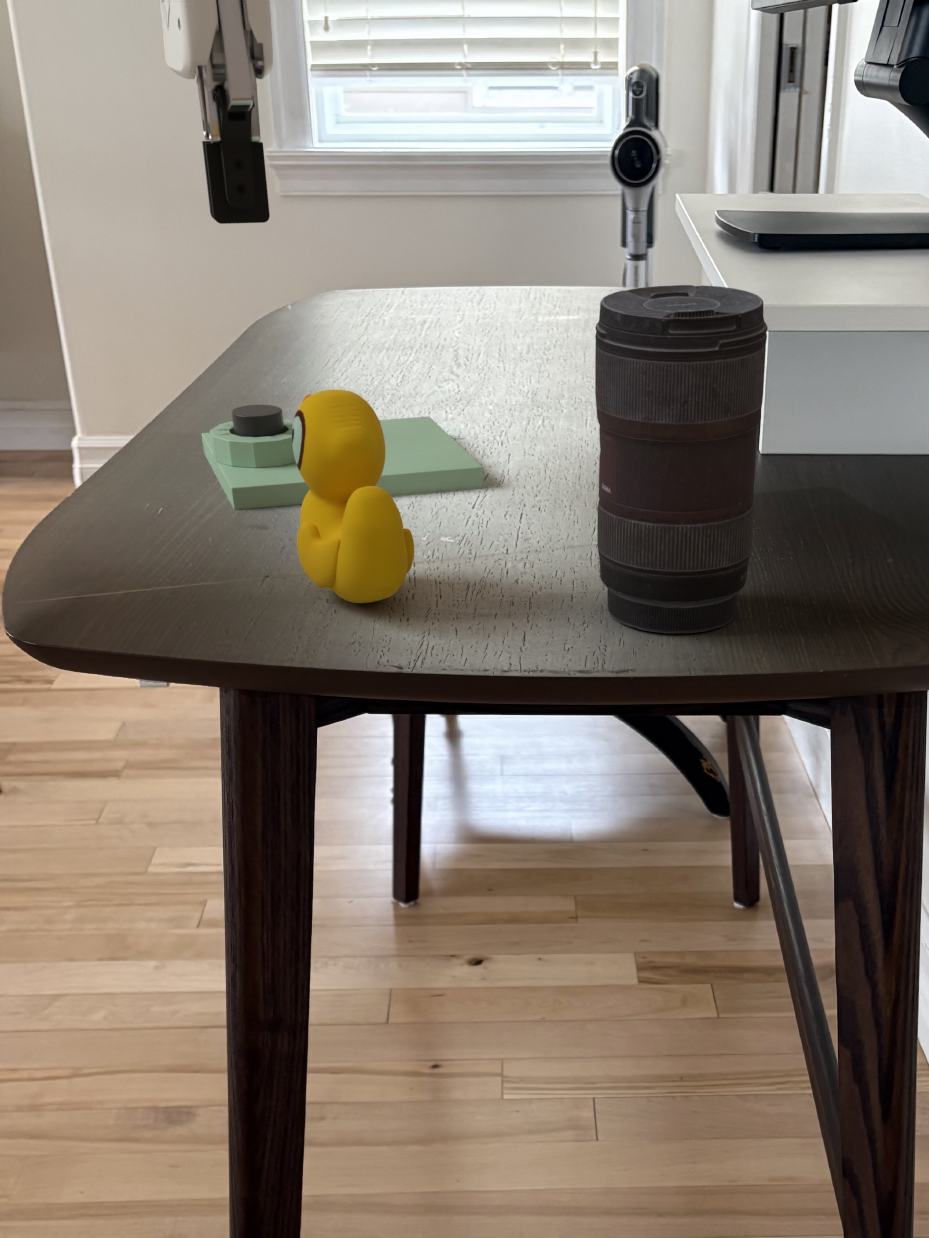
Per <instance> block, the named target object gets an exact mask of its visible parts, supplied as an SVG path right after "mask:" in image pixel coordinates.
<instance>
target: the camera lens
mask: <svg viewBox="0 0 929 1238" xmlns="http://www.w3.org/2000/svg"><path fill="white" fill-rule="evenodd" d="M598 318H599V319H598V322H597V323H596V325H595V331H596V332H595V336H594V337H595V351H594V352H595V353H594V354H595V355H594V356H595V357H594V359H595V360H594V363H595V364H594V365H595V366H594V368H595V369H594V370H595V372H594V375H595V378H594V379H595V380H594V381H595V384H594V385H595V386H594V388H595V389H594V390H595V391H594V392H595V406H596V407H595V408H596V409H595V410H596V418H597V422H598V425H599V429H598V430H599V433H598V434H599V457H598V460H599V461H598V462H599V463H598V503H597V529H596V530H597V532H596V533H597V534H596V535H597V543H596V544H597V552H598V559H599V576H600V581H601V582H602V583H603V585H604V586H605V588H606V590H607V591H606V592H607V595H606V596H607V611H608V612H609V614H610V616H611V617H612V618H613V619H615V620H616V621H617V622H619V623H621V624H623V625H625V626H627V627H630V628H634V629H638V630H641V631H647V632H652V633H653V632H654V633H663V634H693V633H695V634H696V633H702V632H709V631H712V630H715V629H718V628H719V629H720V628H722V627H724V626H726V625H727V624H729V623H730V622H732V620H733V619H734V618H735V616H736V613H737V603H738V594H739V593H740V592H741V591H742V589H743V588H744V587H745V586H746V583H747V576H748V569H749V568H748V567H749V562H750V558H751V552H752V547H753V546H752V545H753V536H754V517H755V516H754V515H755V514H754V513H755V508H754V493H755V492H754V488H755V478H756V477H755V474H756V453H757V432H758V426H759V425H760V422H761V418H762V414H761V413H762V411H761V409H762V407H763V406H762V405H763V401H764V389H765V388H764V387H765V384H764V383H765V369H766V367H765V366H766V350H767V349H766V348H767V340H768V333H767V331H768V330H769V329H768V325H767V323H766V321H765V317H764V300H763V299H762V297H760V295H758V294H757V293H756V294H755V293H753V292H750V291H747V290H743V289H739V288H734V287H726V286H718V285H692V284H678V285H676V284H675V285H657V286H656V285H655V286H645V287H644V286H643V287H635V288H631V289H627V290H623V289H622V290H618V291H615V292H612V293H610V294H609V293H608V294H607V295H604V296H603V298H602V299H601V300H600V303H599V317H598Z"/></svg>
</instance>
